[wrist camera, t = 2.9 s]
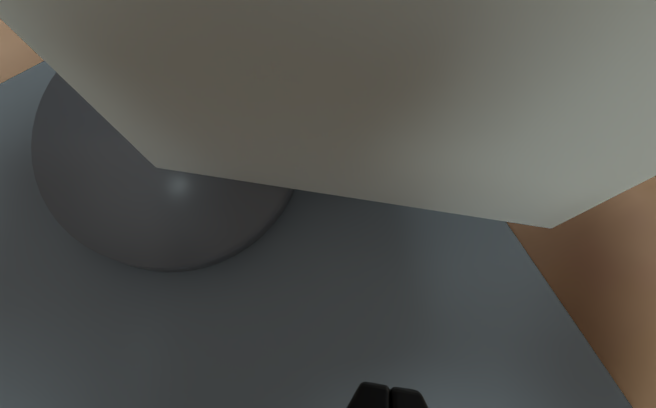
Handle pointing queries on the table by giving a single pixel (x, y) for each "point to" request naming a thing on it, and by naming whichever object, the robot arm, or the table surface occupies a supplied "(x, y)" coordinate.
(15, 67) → the table surface
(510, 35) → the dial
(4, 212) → the dial plate
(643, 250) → the table surface
